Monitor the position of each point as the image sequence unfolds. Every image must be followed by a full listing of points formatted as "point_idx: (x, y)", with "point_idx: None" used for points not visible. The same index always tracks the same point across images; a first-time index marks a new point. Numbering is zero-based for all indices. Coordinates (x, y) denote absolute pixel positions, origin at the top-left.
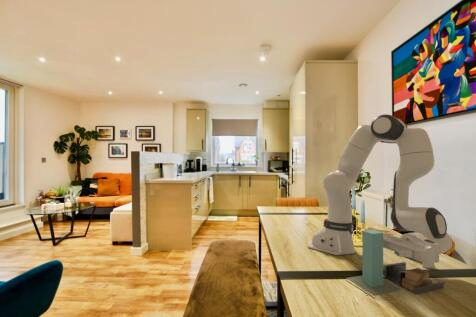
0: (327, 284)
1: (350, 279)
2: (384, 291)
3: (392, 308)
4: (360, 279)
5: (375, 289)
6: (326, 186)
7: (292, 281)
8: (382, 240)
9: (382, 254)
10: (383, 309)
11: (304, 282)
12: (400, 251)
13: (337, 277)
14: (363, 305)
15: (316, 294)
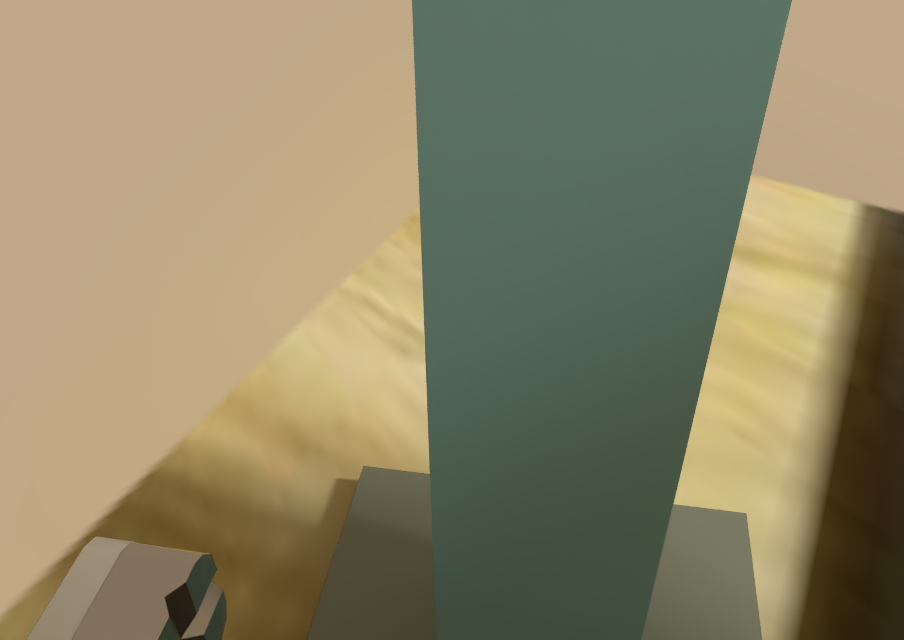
0: (718, 362)
1: (705, 528)
2: (345, 613)
3: (196, 487)
4: (673, 627)
5: (423, 567)
6: None
7: (821, 226)
8: (426, 181)
9: (434, 436)
10: (240, 424)
11: (790, 267)
12: (100, 551)
13: (840, 519)
14: (359, 360)
15: None
